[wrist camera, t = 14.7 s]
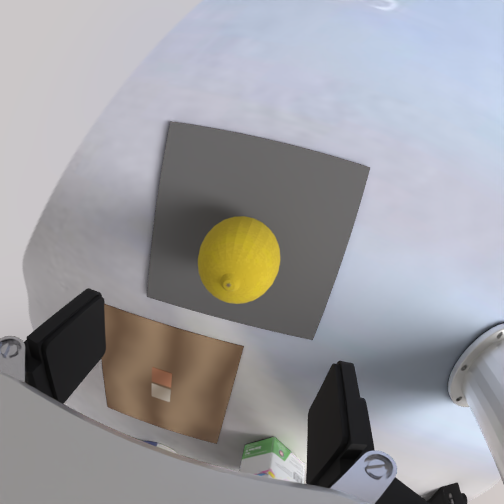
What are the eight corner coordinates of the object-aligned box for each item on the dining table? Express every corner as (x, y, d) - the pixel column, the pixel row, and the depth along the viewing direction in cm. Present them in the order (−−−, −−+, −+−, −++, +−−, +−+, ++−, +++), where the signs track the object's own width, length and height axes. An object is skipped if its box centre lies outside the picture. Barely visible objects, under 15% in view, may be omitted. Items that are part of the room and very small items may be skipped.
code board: (243, 345, 30) (243, 347, 29) (216, 442, 36) (216, 443, 36) (98, 301, 30) (97, 302, 30) (108, 406, 36) (107, 407, 36)
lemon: (267, 195, 24) (255, 226, 16) (291, 258, 25) (290, 312, 18) (202, 218, 25) (166, 257, 18) (229, 277, 27) (207, 333, 19)
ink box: (305, 463, 36) (303, 533, 25) (274, 471, 37) (267, 537, 26) (274, 434, 34) (266, 514, 23) (240, 444, 35) (226, 518, 24)
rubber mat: (368, 167, 23) (370, 167, 22) (312, 336, 28) (312, 340, 28) (173, 121, 23) (170, 121, 23) (149, 293, 29) (146, 296, 28)
